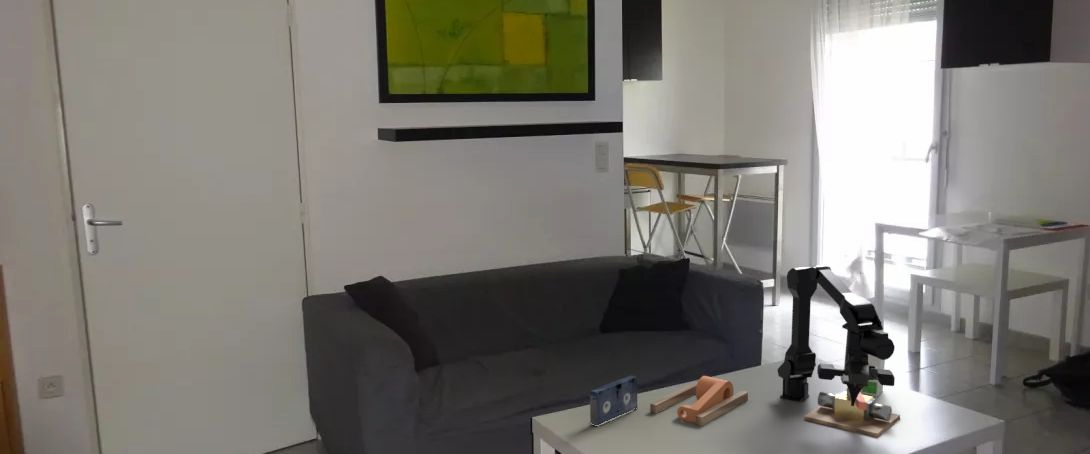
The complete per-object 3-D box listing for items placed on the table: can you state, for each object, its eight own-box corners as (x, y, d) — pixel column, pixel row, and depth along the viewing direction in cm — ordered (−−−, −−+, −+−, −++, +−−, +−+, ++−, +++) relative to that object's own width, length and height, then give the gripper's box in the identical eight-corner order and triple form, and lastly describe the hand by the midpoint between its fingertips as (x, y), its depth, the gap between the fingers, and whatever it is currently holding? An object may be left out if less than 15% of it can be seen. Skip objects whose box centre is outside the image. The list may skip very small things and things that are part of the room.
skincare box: (850, 392, 248) (851, 342, 246) (855, 386, 254) (857, 337, 252) (879, 397, 244) (881, 346, 241) (884, 390, 249) (886, 340, 247)
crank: (709, 398, 246) (709, 372, 245) (733, 404, 241) (733, 378, 240) (673, 417, 231) (673, 390, 230) (697, 424, 226) (697, 396, 225)
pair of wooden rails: (650, 412, 235) (650, 403, 235) (697, 388, 254) (697, 380, 254) (702, 426, 224) (702, 417, 224) (747, 400, 243) (748, 391, 243)
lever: (845, 393, 229) (845, 384, 229) (860, 393, 228) (860, 385, 228) (854, 410, 216) (854, 400, 216) (870, 410, 216) (870, 401, 215)
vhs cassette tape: (631, 407, 240) (631, 374, 238) (639, 410, 237) (639, 376, 236) (588, 425, 227) (588, 390, 225) (596, 427, 225) (596, 392, 223)
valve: (815, 410, 231) (815, 393, 230) (825, 403, 236) (825, 386, 236) (884, 426, 219) (884, 408, 218) (893, 418, 224) (893, 401, 223)
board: (804, 419, 227) (804, 416, 227) (829, 402, 240) (829, 399, 240) (877, 437, 214) (877, 433, 214) (899, 418, 227) (900, 415, 226)
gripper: (822, 353, 211) (818, 412, 213) (900, 361, 206) (895, 420, 209) (819, 342, 222) (815, 397, 224) (893, 349, 217) (888, 405, 219)
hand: (852, 405), depth 219 cm, fingers closed
